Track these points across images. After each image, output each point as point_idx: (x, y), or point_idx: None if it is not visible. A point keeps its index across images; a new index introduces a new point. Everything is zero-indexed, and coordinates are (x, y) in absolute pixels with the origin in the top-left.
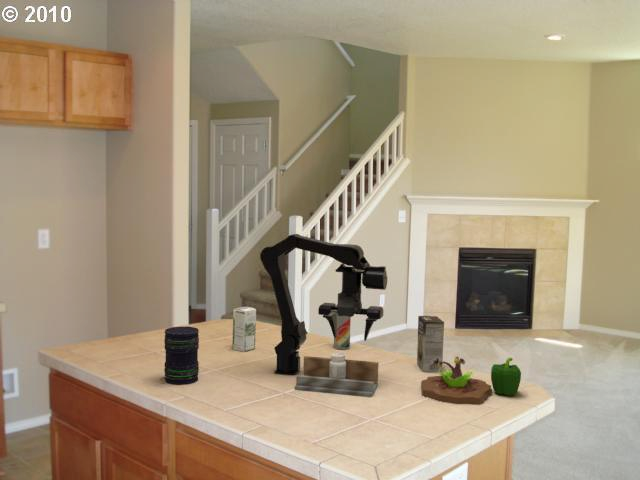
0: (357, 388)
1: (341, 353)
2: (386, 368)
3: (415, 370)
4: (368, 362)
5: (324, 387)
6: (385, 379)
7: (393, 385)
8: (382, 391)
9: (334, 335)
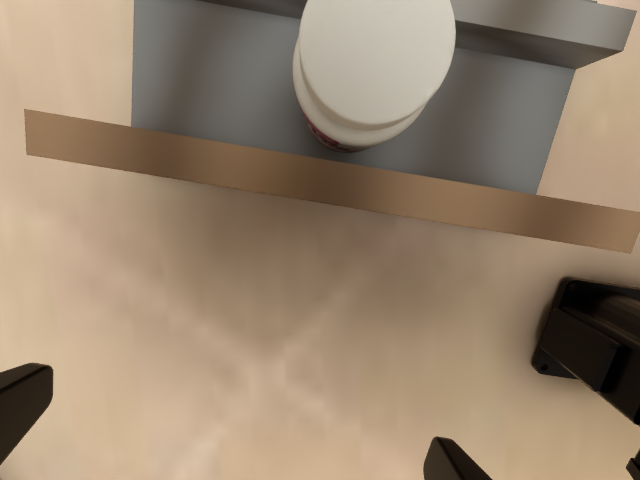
0: None
1: (340, 106)
2: (134, 436)
3: None
4: (105, 130)
5: None
6: (117, 274)
7: (65, 179)
8: (105, 61)
9: (464, 461)
